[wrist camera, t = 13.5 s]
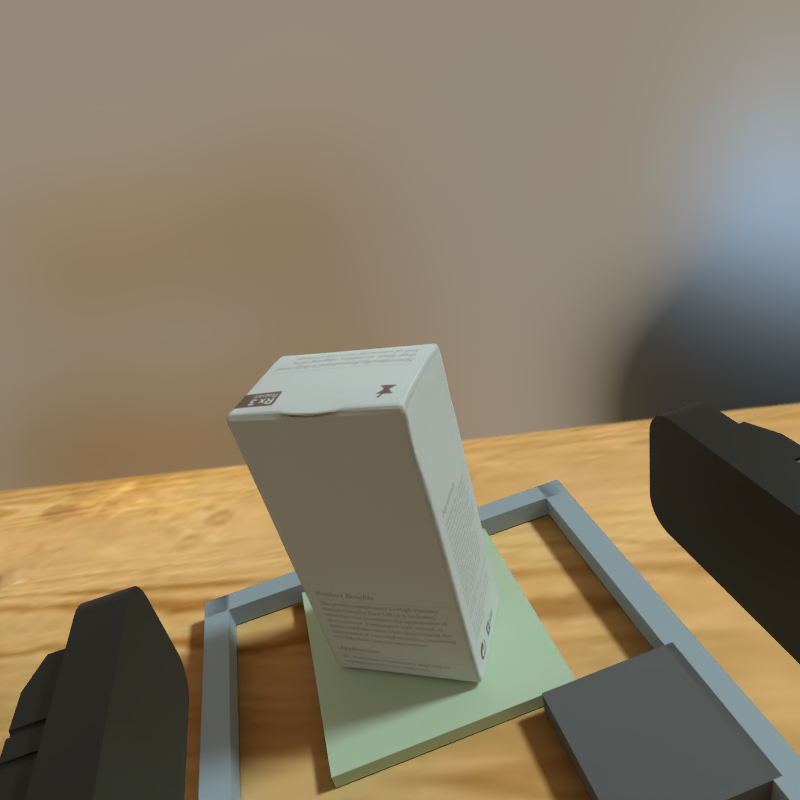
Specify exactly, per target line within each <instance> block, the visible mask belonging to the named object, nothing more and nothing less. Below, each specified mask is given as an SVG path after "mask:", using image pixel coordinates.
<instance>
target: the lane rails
mask: <svg viewBox="0 0 800 800" xmlns="http://www.w3.org/2000/svg"><path fill="white" fill-rule="evenodd" d="M477 509H478V513H479V518H480V522H481V526H482V529H483V528H484V529H485V530H486V532H487V533H488V535H491V534H493V533H496V532H499V531H502V530H505V529H508V528H510V527H513V526H516V525H519V524H522V523H524V522H527V521H530V520H533V519H536V518H538V517H541V516H544V515H547V514H549V515H550V517H551V518H552V519H553V521H554V522H555V523H556V524H557V526H558V527H559V528H560V530H561V531H562V532H563V533H564V535H565V536H566V537H567V539H568V540H569V541H570V542H571V544H572V545H573V546H574V548H575V549H576V550H577V551H578V553H579V554H580V555H581V556H582V558H583V559H584V560H585V562H586V563H587V564H588V565H589V567H590V568H591V569H592V571H593V572H594V573H595V574H596V576H597V577H598V578H599V580H600V581H601V582H602V583H603V585H604V586H605V587H606V589H607V590H608V591H609V592H610V594H611V595H612V596H613V597H614V599H615V600H616V601H617V603H618V604H619V605H620V606H621V608H622V609H623V610H624V612H625V613H626V614H627V615H628V617H629V618H630V619H631V621H632V622H633V623H634V624H635V626H636V627H637V628H638V629H639V631H640V632H641V633H642V635H643V636H644V637H645V638H646V640H647V641H648V642H649V644H650V645H651V646H652V647H653V649H656V648H659V647H661V646H664V645H666V644H669V643H671V642H673V643H674V645H675V646H676V648H678V650H679V651H680V652H681V653H682V654H683V655H682V656H684V657H685V658H686V659H687V660H688V662H689V663H690V664H691V665H692V666H693V668H694V669H695V670H696V671H697V672H696V673H698V674H699V675H700V676H701V677H702V679H703V680H704V681H705V682H706V683H707V685H708V686H709V687H710V688H711V690H712V691H713V692H714V693H715V694H716V696H717V697H718V698H719V700H721V702H722V703H723V704H724V705H725V706H726V708H727V709H728V710H729V711H730V713H731V714H732V715H733V716H734V717H735V719H736V720H737V721H738V722H739V723H740V725H741V726H742V727H743V728H744V730H745V731H746V732H747V733H748V734H749V736H750V737H751V738H752V739H753V740H754V742H755V743H756V744H757V745H758V746H759V748H760V749H761V750H762V751H763V753H764V754H765V755H766V756H767V757H768V759H769V760H770V762H772V763H773V764H772V765H774V766H775V767H776V768H777V770H778V771H779V772H780V773H781V774H782V776H781V777H779V778H776V779H774V780H773V788H772V797H771V800H800V756H799V755H798V754H797V753H796V752H795V751H794V749H793V748H792V747H791V746H790V745H789V744H788V743H787V741H786V740H785V739H784V738H783V737H782V736H781V735H780V733H779V732H778V731H777V730H776V729H775V728H774V727H773V725H772V724H771V723H770V722H769V721H768V720H767V719H766V717H765V716H764V715H763V714H762V713H761V712H760V711H759V709H758V708H757V707H756V706H755V705H754V704H753V703H752V701H751V700H750V699H749V698H748V697H747V696H746V695H745V693H744V692H743V691H742V690H741V689H740V688H739V687H738V685H737V684H736V683H735V682H734V681H733V680H732V679H731V677H730V676H729V675H728V674H727V673H726V672H725V671H724V669H723V668H722V667H721V666H720V665H719V664H718V663H717V661H716V660H715V659H714V658H713V657H712V656H711V655H710V653H709V652H708V651H707V650H706V649H705V648H704V647H703V645H702V644H701V643H700V642H699V641H698V640H697V639H696V637H695V636H694V635H693V634H692V633H691V632H690V631H689V629H688V628H687V627H686V626H685V625H684V624H683V623H682V621H681V620H680V619H679V618H678V617H677V616H676V615H675V613H674V612H673V611H672V610H671V609H670V608H669V607H668V605H667V604H666V603H665V602H664V601H663V600H662V599H661V597H660V596H659V595H658V594H657V593H656V592H655V591H654V589H653V588H652V587H651V586H650V585H649V584H648V583H647V581H646V580H645V579H644V578H643V577H642V576H641V575H640V573H639V572H638V571H637V570H636V569H635V568H634V567H633V565H632V564H631V563H630V562H629V561H628V560H627V559H626V557H625V556H624V555H623V554H622V553H621V552H620V551H619V549H618V548H617V547H616V546H615V545H614V544H613V543H612V541H611V540H610V539H609V538H608V537H607V536H606V535H605V533H604V532H603V531H602V530H601V529H600V528H599V527H598V525H597V524H596V523H595V522H594V521H593V520H592V519H591V517H590V516H589V515H588V514H587V513H586V512H585V511H584V509H583V508H582V507H581V506H580V505H579V504H578V503H577V501H576V500H575V499H574V498H573V497H572V496H571V495H570V493H569V492H568V491H567V490H566V489H565V488H564V487H563V485H562V484H561V483H560V482H559V481H558V480H555V481H552V482H549V483H546V484H543V485H541V486H538V487H535V488H532V489H529V490H526V491H523V492H520V493H518V494H515V495H512V496H509V497H506V498H503V499H500V500H498V501H495V502H492V503H489V504H486V505H483V506H480V507H478V508H477ZM302 592H305V591H304V589H303V586H302V584H301V582H300V580H299V578H298V576H297V573H296V571H294V572H292V573H289V574H286V575H283V576H280V577H277V578H274V579H271V580H269V581H266V582H263V583H260V584H257V585H254V586H251V587H249V588H246V589H243V590H240V591H237V592H234V593H231V594H229V595H226V596H223V597H220V598H217V599H214V600H211V601H208V602H206V603H205V624H204V652H203V680H202V708H201V736H200V765H199V793H198V800H240V760H239V720H238V679H237V639H236V625H238V624H240V623H243V622H246V621H249V620H252V619H255V618H257V617H260V616H263V615H266V614H269V613H271V612H274V611H277V610H280V609H283V608H285V607H288V606H291V605H294V604H297V603H300V602H302V601H303V596H302ZM671 645H672V644H671ZM668 646H669V645H668ZM675 646H673V647H672V648H674V647H675ZM674 649H675V648H674ZM669 650H670V649H669ZM675 650H676V649H675ZM672 652H673V651H672ZM672 652H671V653H672ZM675 656H676V655H675ZM679 656H680V655H679ZM677 658H678V657H677ZM685 658H683V659H685ZM679 662H680V661H679ZM688 662H687V664H689V663H688ZM690 667H691V666H690ZM687 668H688V667H687ZM689 670H690V669H689ZM691 670H692V669H691ZM693 671H694V670H693ZM687 673H688V672H687ZM692 674H693V673H692ZM693 675H694V674H693ZM691 676H692V675H691ZM697 678H699V677H698V676H697ZM694 680H695V679H694ZM699 680H700V679H699ZM696 683H697V682H696ZM700 685H701V684H700ZM703 687H704V686H703ZM709 687H708V688H707V689H709ZM701 688H702V687H701ZM704 691H705V690H704ZM704 691H703V692H704ZM709 691H710V690H709ZM708 693H709V692H708ZM714 697H715V696H714ZM715 698H716V697H715ZM712 699H713V698H712ZM717 706H718V705H717ZM726 719H727V718H726ZM730 720H731V719H730ZM728 723H729V722H728ZM732 726H733V725H732ZM736 728H737V727H736ZM739 728H740V727H739ZM741 737H742V736H741ZM752 739H751V740H752ZM748 740H749V739H748ZM751 743H752V742H751ZM753 755H754V754H753ZM762 758H763V757H762ZM765 758H766V757H765ZM772 765H771V766H772ZM774 766H773V767H774ZM764 768H765V767H764ZM774 769H775V768H774ZM769 771H770V770H769ZM772 773H773V772H772ZM780 773H779V774H780Z"/></svg>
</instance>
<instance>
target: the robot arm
mask: <svg viewBox="0 0 800 800" xmlns="http://www.w3.org/2000/svg"><path fill="white" fill-rule="evenodd" d="M650 498H651V503H652V506H653V509H654V512H655V514H656V516H657V518H658V520H659V522H660V523H661V525H662V526H663V528H664V529H665V530H666V531H667V532H668V534H669V535H670V536H672V537H673V538H674V539H675V540H676V541H677V542H678V543H679V544H680V545H681V546H682V547H683V548H684V549H685V550H686V551H687V552H688V553H689V554H690V555H691V556H692V557H693V558H694V559H695V560H696V561H697V562H698V563H699V564H700V565H701V566H702V567H703V568H704V569H705V570H706V571H707V572H708V573H709V574H710V575H711V576H712V577H713V578H714V579H715V580H716V581H717V582H718V583H719V584H720V585H721V586H722V587H723V588H724V589H725V590H726V591H727V592H728V593H729V594H730V595H731V596H732V597H733V598H734V599H735V600H736V601H737V602H738V603H739V604H740V605H741V606H742V607H743V608H744V609H745V610H746V611H747V612H748V613H749V614H750V615H751V616H752V617H753V618H754V619H755V620H756V621H757V622H758V623H759V624H760V625H761V626H762V627H763V628H764V629H765V630H766V631H767V632H768V633H769V634H770V635H771V636H772V637H773V638H774V639H775V640H776V641H777V642H778V643H779V644H780V645H781V646H782V647H783V648H784V649H785V650H786V651H787V652H788V653H789V654H790V655H791V656H792V657H793V658H794V659H795V660H796V661H797V662H798V663H799V664H800V445H799V444H797V443H796V442H794V441H792V440H791V439H789V438H788V437H786V436H784V435H783V434H780V433H777V432H774V431H771V430H768V429H765V428H762V427H759V426H755V425H752V424H749V423H746V422H742V423H740V424H738V423H737V422H735V421H734V420H732V419H730V418H729V417H727V416H726V415H724V414H723V413H721V412H720V411H718V410H717V409H715V408H714V407H712V406H710V405H708V404H706V403H696V404H693V405H690V406H687V407H684V408H681V409H677V410H675V411H671V412H668V413H665V414H662V415H659V416H656V417H655V418H654V419H653V420H652V422H651V425H650ZM188 705H189V694H188V684H187V679H186V674H185V670H184V667H183V664H182V661H181V659H180V656H179V654H178V652H177V651H176V649H175V647H174V645H173V643H172V642H171V640H170V638H169V636H168V634H167V633H166V631H165V629H164V627H163V625H162V624H161V622H160V620H159V618H158V616H157V615H156V613H155V611H154V609H153V607H152V606H151V604H150V602H149V600H148V598H147V597H146V595H145V593H144V592H143V591H142V590H141V589H140V588H139V587H137V586H134V587H131V588H128V589H125V590H122V591H118V592H115V593H112V594H109V595H106V596H103V597H100V598H97V599H94V600H91V601H88V602H85V603H82V604H80V605H79V606H78V608H77V610H76V612H75V615H74V619H73V623H72V626H71V630H70V634H69V637H68V641H67V645H66V649H63V650H60V651H57V652H54V653H51V654H48V655H47V656H46V658H45V659H44V660H43V662H42V663H41V665H40V666H39V668H38V669H37V670H36V672H35V673H34V675H33V676H32V678H31V679H30V681H29V682H28V683H27V685H26V686H25V688H24V689H23V691H22V692H21V695H20V698H19V701H18V704H17V707H16V710H15V713H14V716H13V719H12V723H11V726H10V729H9V733H10V738H8V739H6V741H5V744H4V747H3V750H2V754H1V757H0V800H184V791H185V769H186V748H187V726H188Z"/></svg>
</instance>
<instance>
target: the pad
mask: <svg viewBox="0 0 800 800" xmlns="http://www.w3.org/2000/svg"><path fill="white" fill-rule="evenodd" d="M482 530H483V535H484V538H485V542H486V546H487V551H488V555H489V559H490V564H491V569H492V573H493V577H494V581H495V585H496V588H497V592H498V596H499V603H498V608H497V613H496V618H495V623H494V628H493V633H492V637H491V642H490V647H489V652H488V656H487V661H486V666H485V671H484V676H483V679H482V681H481V682H472V681H463V680H454V679H446V678H437V677H429V676H421V675H413V674H405V673H396V672H388V671H379V670H370V669H362V668H352V667H343V666H340V665H338V663H337V662H336V659H335V657H334V655H333V653H332V651H331V649H330V646H329V644H328V642H327V639H326V637H325V635H324V633H323V630H322V628H321V626H320V624H319V621H318V619H317V617H316V615H315V613H314V610H313V608H312V606H311V604H310V602H309V600H308V597H307V595H306V593H305V592H302V596H303V603H304V609H305V615H306V621H307V628H308V634H309V640H310V647H311V653H312V659H313V665H314V672H315V678H316V684H317V691H318V697H319V703H320V709H321V716H322V722H323V728H324V735H325V741H326V747H327V753H328V760H329V766H330V772H331V778H332V780H333V782H334V784H335V787H336V788H337V787H340V786H342V785H345V784H347V783H350V782H352V781H355V780H358V779H360V778H363V777H365V776H368V775H370V774H373V773H375V772H378V771H380V770H383V769H385V768H388V767H390V766H393V765H395V764H398V763H401V762H403V761H406V760H408V759H411V758H413V757H416V756H418V755H421V754H423V753H426V752H428V751H431V750H433V749H436V748H439V747H441V746H444V745H446V744H449V743H451V742H454V741H456V740H459V739H461V738H464V737H466V736H469V735H471V734H474V733H477V732H479V731H482V730H484V729H487V728H489V727H492V726H494V725H497V724H499V723H502V722H504V721H507V720H509V719H512V718H515V717H517V716H520V715H522V714H525V713H527V712H530V711H532V710H535V709H537V708H540V707H542V706H544V703H543V697H542V693H544V692H546V691H549V690H551V689H554V688H557V687H559V686H562V685H564V684H567V683H569V682H572V681H574V680H576V679H575V677H574V675H573V674H572V672H571V670H570V669H569V667H568V665H567V664H566V662H565V661H564V659H563V657H562V656H561V654H560V652H559V651H558V649H557V647H556V646H555V644H554V642H553V641H552V639H551V637H550V636H549V634H548V632H547V631H546V629H545V628H544V626H543V624H542V623H541V621H540V619H539V618H538V616H537V614H536V613H535V611H534V609H533V608H532V606H531V604H530V603H529V601H528V599H527V598H526V596H525V595H524V593H523V591H522V590H521V588H520V586H519V585H518V583H517V581H516V580H515V578H514V576H513V575H512V573H511V571H510V570H509V568H508V566H507V565H506V563H505V562H504V560H503V558H502V557H501V555H500V553H499V552H498V550H497V548H496V547H495V545H494V543H493V542H492V540H491V538H490V537H489V535H488V533H487V532H486V530H485V529H484V528H483V529H482Z"/></svg>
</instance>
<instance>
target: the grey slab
mask: <svg viewBox="0 0 800 800" xmlns="http://www.w3.org/2000/svg"><path fill="white" fill-rule="evenodd" d="M671 644H672V645H671ZM668 645H669V646H668ZM673 646H675V645H674V643H673V642H671V643H669V644H666V645H664V646H661V647H659V648H656V649H653V650H651V651H648V652H646V653H643V654H641V655H638V656H636V657H633V658H630V659H628V660H625V661H623V662H620V663H618V664H615V665H613V666H610V667H608V668H605V669H602V670H600V671H597V672H595V673H592V674H590V675H587V676H585V677H582V678H579V679H577V680H574V681H572V682H569V683H567V684H564V685H562V686H559V687H557V688H554V689H551V690H549V691H546V692H544V693H542V697H543V703H544V709H545V712H546V714H547V716H548V718H549V720H550V722H551V724H552V726H553V728H554V730H555V731H556V733H557V735H558V737H559V739H560V741H561V743H562V745H563V747H564V749H565V751H566V752H567V754H568V756H569V758H570V760H571V762H572V764H573V766H574V768H575V770H576V772H577V773H578V775H579V777H580V779H581V781H582V783H583V785H584V787H585V789H586V791H587V792H588V794H589V796H590V798H591V800H771V797H772V788H773V780H774V779H776V778H779V777H781V776H782V774H781V773H780V772H779V771H778V770H777V768H776V767H775V766H774V765H772V764H773V763H772V762H770V760H769V759H768V757H767V756H766V755H765V754H764V753H763V751H762V750H761V749H760V748H759V746H758V745H757V744H756V743H755V742H754V740H753V739H752V738H751V737H750V736H749V734H748V733H747V732H746V731H745V730H744V728H743V727H742V726H741V725H740V723H739V722H738V721H737V720H736V719H735V717H734V716H733V715H732V714H731V713H730V711H729V710H728V709H727V708H726V706H725V705H724V704H723V703H722V702H721V700H719V698H718V697H717V696H716V694H715V693H714V692H713V691H712V690H711V688H710V687H709V686H708V685H707V683H706V682H705V681H704V680H703V679H702V677H701V676H700V675H699V674H698V673H696V672H697V671H696V670H695V669H694V668H693V666H692V665H691V664H690V663H689V662H688V660H687V659H686V658H685V657H684V656H682V655H683V654H682V653H681V652H680V651H679V650H678V648H676V646H675V647H674V648H675V649H676V650H675V649H674V648H672V647H673ZM669 649H670V650H669ZM672 651H673V652H672ZM671 652H672V653H671ZM675 655H676V656H675ZM679 655H680V656H679ZM677 657H678V658H677ZM683 658H685V659H683ZM679 661H680V662H679ZM687 662H688V663H689V664H687ZM690 666H691V667H690ZM687 667H688V668H687ZM689 669H690V670H689ZM691 669H692V670H691ZM693 670H694V671H693ZM687 672H688V673H687ZM692 673H693V674H694V675H693V674H692ZM691 675H692V676H691ZM697 676H698V677H699V678H697ZM694 679H695V680H694ZM699 679H700V680H699ZM696 682H697V683H696ZM700 684H701V685H700ZM703 686H704V687H703ZM701 687H702V688H701ZM708 687H709V689H707V688H708ZM704 690H705V691H704ZM709 690H710V691H709ZM703 691H704V692H703ZM708 692H709V693H708ZM714 696H715V697H716V698H715V697H714ZM712 698H713V699H712ZM717 705H718V706H717ZM726 718H727V719H726ZM730 719H731V720H730ZM728 722H729V723H728ZM732 725H733V726H732ZM736 727H737V728H736ZM739 727H740V728H739ZM741 736H742V737H741ZM748 739H749V740H748ZM751 739H752V740H751ZM751 742H752V743H751ZM753 754H754V755H753ZM762 757H763V758H762ZM765 757H766V758H765ZM771 765H772V766H771ZM773 766H774V767H773ZM764 767H765V768H764ZM774 768H775V769H774ZM769 770H770V771H769ZM772 772H773V773H772ZM779 773H780V774H779Z"/></svg>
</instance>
